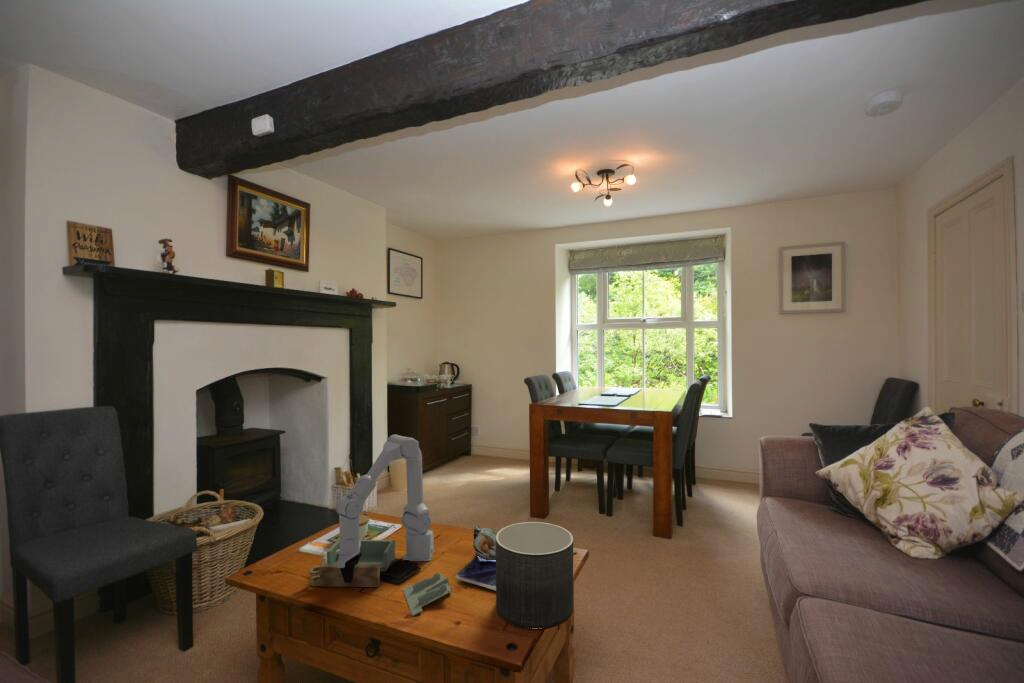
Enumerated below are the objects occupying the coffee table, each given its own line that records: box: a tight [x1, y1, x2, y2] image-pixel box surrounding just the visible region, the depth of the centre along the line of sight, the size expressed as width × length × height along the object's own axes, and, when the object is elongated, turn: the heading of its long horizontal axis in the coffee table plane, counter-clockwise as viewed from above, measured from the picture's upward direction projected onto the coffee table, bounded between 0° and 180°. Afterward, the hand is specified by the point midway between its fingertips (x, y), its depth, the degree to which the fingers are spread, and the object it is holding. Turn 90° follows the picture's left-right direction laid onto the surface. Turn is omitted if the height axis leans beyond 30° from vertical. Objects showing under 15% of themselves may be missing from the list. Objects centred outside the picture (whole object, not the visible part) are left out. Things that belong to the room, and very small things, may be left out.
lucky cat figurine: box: [472, 525, 498, 560], centre depth 161 cm, size 15×12×14 cm
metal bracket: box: [402, 572, 453, 617], centre depth 138 cm, size 14×6×15 cm
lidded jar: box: [338, 514, 370, 540], centre depth 178 cm, size 11×11×9 cm
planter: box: [495, 521, 574, 630], centre depth 133 cm, size 22×22×20 cm
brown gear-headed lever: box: [308, 563, 381, 588], centre depth 144 cm, size 22×4×6 cm, turn 89°
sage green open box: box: [322, 538, 396, 569], centre depth 156 cm, size 20×13×6 cm, turn 89°
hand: (349, 580), depth 144 cm, fingers closed on brown gear-headed lever, 2 cm apart
